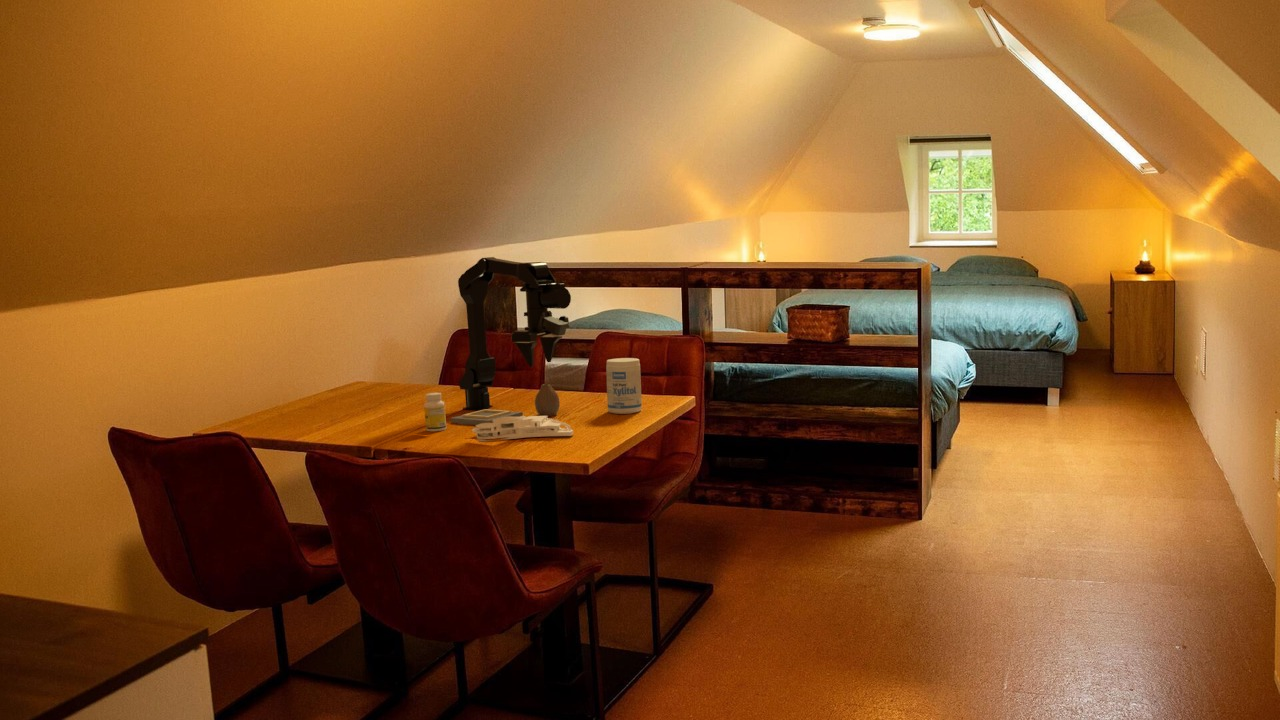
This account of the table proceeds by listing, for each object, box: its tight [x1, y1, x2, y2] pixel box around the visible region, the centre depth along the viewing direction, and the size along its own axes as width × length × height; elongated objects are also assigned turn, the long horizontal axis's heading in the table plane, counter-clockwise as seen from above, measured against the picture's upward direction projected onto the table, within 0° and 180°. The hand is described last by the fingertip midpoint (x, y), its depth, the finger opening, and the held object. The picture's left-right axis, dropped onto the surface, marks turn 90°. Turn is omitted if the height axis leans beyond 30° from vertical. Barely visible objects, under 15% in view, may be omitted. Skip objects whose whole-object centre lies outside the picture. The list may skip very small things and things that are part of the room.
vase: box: [534, 383, 561, 417], centre depth 311 cm, size 7×7×9 cm
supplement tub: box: [605, 357, 643, 415], centre depth 310 cm, size 10×10×15 cm
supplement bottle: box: [423, 392, 447, 433], centre depth 296 cm, size 5×5×10 cm
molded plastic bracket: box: [471, 415, 574, 442], centre depth 289 cm, size 23×25×4 cm
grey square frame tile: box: [450, 408, 524, 426], centre depth 308 cm, size 14×14×2 cm
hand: (540, 364), depth 307 cm, fingers open, 9 cm apart
